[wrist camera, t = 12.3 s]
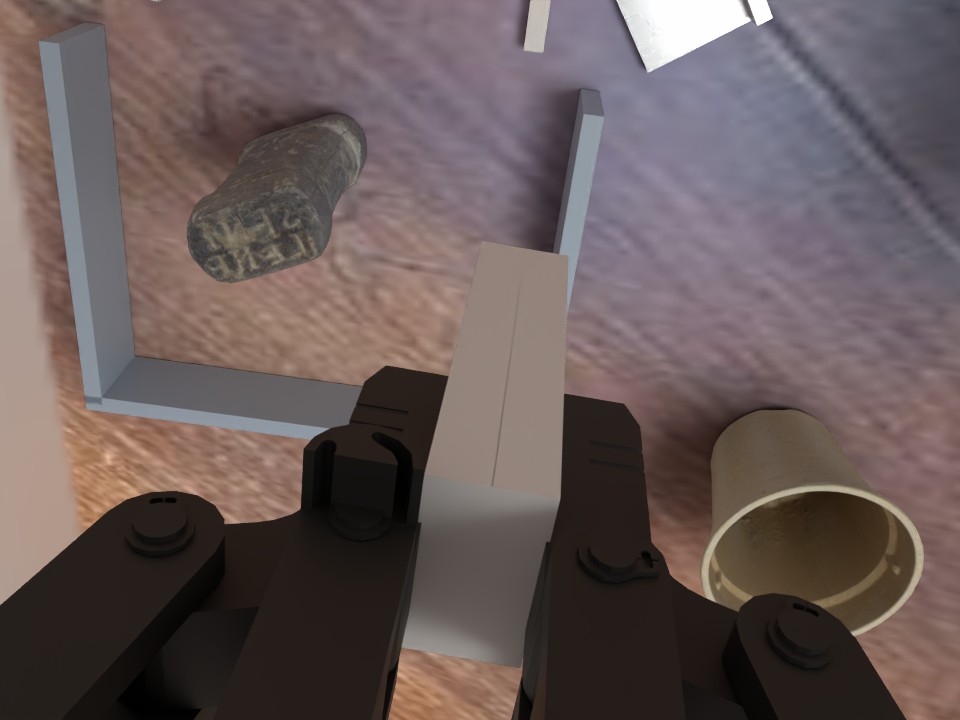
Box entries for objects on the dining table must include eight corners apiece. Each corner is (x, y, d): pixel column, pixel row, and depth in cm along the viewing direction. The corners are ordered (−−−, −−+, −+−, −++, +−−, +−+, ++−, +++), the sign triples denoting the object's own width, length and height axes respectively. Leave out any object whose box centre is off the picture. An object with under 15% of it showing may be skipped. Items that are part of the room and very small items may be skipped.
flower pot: (649, 497, 49) (668, 617, 41) (722, 355, 44) (757, 461, 36) (810, 542, 49) (856, 668, 42) (898, 408, 45) (967, 521, 37)
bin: (85, 22, 38) (38, 40, 34) (599, 91, 38) (604, 116, 34) (121, 367, 47) (86, 409, 43) (539, 423, 47) (538, 470, 43)
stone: (242, 134, 40) (150, 214, 31) (360, 102, 39) (298, 176, 30) (271, 205, 42) (192, 300, 33) (385, 176, 40) (334, 266, 32)
